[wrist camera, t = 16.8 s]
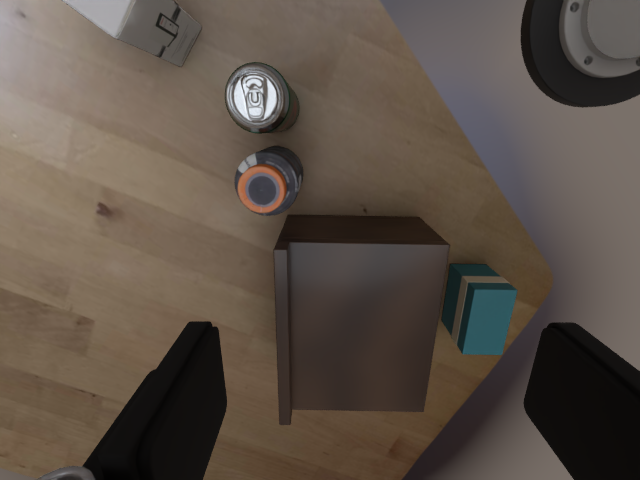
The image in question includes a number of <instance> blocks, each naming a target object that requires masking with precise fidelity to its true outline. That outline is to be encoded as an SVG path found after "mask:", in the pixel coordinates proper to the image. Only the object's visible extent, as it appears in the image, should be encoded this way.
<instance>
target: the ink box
mask: <svg viewBox="0 0 640 480" xmlns="http://www.w3.org/2000/svg"><path fill="white" fill-rule="evenodd" d="M62 1H63V2H65V3H66V4H67V5H69V6H70V7H72V8H73V9H74V10H76V11H77V12H78V13H80V14H81V15H83V16H84V17H85V18H87V19H88V20H89V21H91V22H92V23H94V24H95V25H97V26H98V27H99V28H101V29H102V30H104V31H105V32H106V33H108V34H109V35H111V36H112V37H114V38H116V39H118V40H121V41H123V42H126V43H128V44H130V45H133V46H135V47H137V48H140V49H142V50H144V51H146V52H149V53H151V54H153V55H155V56H157V57H160V58H162V59H164V60H166V61H168V62H170V63H173V64H175V65H177V66H179V67H181V66H182V65H183V63H184V61H185V59H186V57H187V55H188V53H189V51H190V49H191V48H192V46H193V44H194V42H195V40H196V38H197V36H198V34H199V32H200V30H201V28H202V27H201V25H200V24H199V23H198V22H197V21H196V20H194V19H193V18H192V17H191V16H190V15H189V14H188V13H187V12H185V11H184V10H183V9H182V8H181V7H180V6H179V5H178V4H177V3H175V2H174V1H173V0H62Z"/></svg>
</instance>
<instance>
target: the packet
mask: <svg viewBox="0 0 640 480" xmlns="http://www.w3.org/2000/svg"><path fill="white" fill-rule="evenodd" d="M516 294H517V290H516V289H515V288H514V287H513V286H512V285H510V284H509V282H508V281H507V280H506V279H504V278H503V277H501V276H500V275H498V274H497V273H496V272H495V271H494V270H492V269H491V268H490V267H489V266H487V265H486V264H450V270H449V276H448V282H447V289H446V295H445V301H444V307H443V314H442V322H443V324H444V325H445V327H446V328H447V330H448V332H449V333H450V335H451V338H452V339H453V341H454V343H455V344H456V345H457V346H458V348H459V349H460V351H461V353H462V354H483V355H502V352H503V348H504V344H505V340H506V336H507V331H508V327H509V323H510V319H511V315H512V311H513V307H514V302H515V298H516Z"/></svg>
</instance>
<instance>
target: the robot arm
mask: <svg viewBox="0 0 640 480" xmlns="http://www.w3.org/2000/svg"><path fill="white" fill-rule="evenodd" d="M559 37H560V42H561V46H562V49H563V52H564V54H565V56H566V57H567V59H568V61H569V62H570V63H571V64H572V65H573V66H574V68H576V69H577V70H579V71H580V72H582V73H583V74H586V75H589V76H591V77H597V78H611V77H618V76H622V75H627V74H629V73H632V72H635V71H637V70H639V69H640V0H563V4H562V8H561V12H560V19H559ZM226 407H227V396H226V388H225V380H224V372H223V363H222V355H221V347H220V339H219V331H218V328H217V327H212V324H211V322H189V323H188V324H187V325H186V327H185V328H184V330H183V331H182V333H181V334H180V335H179V337H178V338H177V340H176V341H175V343H174V344H173V346H172V347H171V348H170V350H169V351H168V353H167V354H166V356H165V357H164V359H163V360H162V361H161V363H160V364H159V366H158V367H157V369H155V370H153V371H151V372H150V373H149V374H148V375H147V376H146V378H145V379H144V380H143V382H142V383H141V385H140V386H139V387H138V389H137V390H136V392H135V393H134V394H133V396H132V397H131V399H130V400H129V401H128V403H127V404H126V406H125V407H124V409H123V410H122V411H121V413H120V414H119V416H118V417H117V418H116V420H115V421H114V423H113V424H112V425H111V427H110V428H109V430H108V431H107V432H106V434H105V435H104V437H103V438H102V439H101V441H100V442H99V444H98V445H97V446H96V448H95V449H94V451H93V452H92V453H91V455H90V456H89V458H88V459H87V460H86V462H85V463H84V465H83V466H82V467H80V466H69V467H64V468H59V469H57V470H54V471H52V472H50V473H47V474H45V475H43V476H41V477H40V478H38V479H36V480H203V477H204V474H205V471H206V468H207V465H208V462H209V460H210V457H211V454H212V451H213V448H214V445H215V442H216V439H217V436H218V433H219V430H220V427H221V424H222V421H223V418H224V416H225V412H226ZM524 408H525V411H526V413H527V415H528V416H529V418H530V419H531V421H532V422H533V423H534V425H535V426H536V428H537V429H538V430H539V432H540V433H541V434H542V436H543V437H544V439H545V440H546V441H547V442H548V444H549V445H550V447H551V448H552V450H553V451H554V453H555V454H556V455H557V457H558V458H559V460H560V461H561V462H562V463H563V465H564V466H565V468H566V469H567V471H568V472H569V473H570V475H571V476H572V478H573V479H574V480H640V371H638V370H637V369H636V368H634V367H633V366H632V365H631V364H629V363H628V362H627V361H625V360H624V359H623V358H621V357H620V356H619V355H617V354H616V353H615V352H613V351H612V350H611V349H610V348H608V347H607V346H605V345H604V344H603V343H602V342H600V341H599V340H598V339H596V338H595V337H594V336H592V335H591V334H590V333H588V332H587V331H586V330H585V329H583V328H582V327H581V326H579V325H578V324H576V323H550V324H549V325H548V326H547V328H544V329H543V331H542V333H541V337H540V341H539V345H538V348H537V352H536V356H535V360H534V364H533V368H532V371H531V375H530V379H529V383H528V386H527V390H526V394H525V398H524Z"/></svg>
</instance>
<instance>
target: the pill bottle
mask: <svg viewBox="0 0 640 480" xmlns="http://www.w3.org/2000/svg"><path fill="white" fill-rule="evenodd" d="M302 180H303V167H302V164H301V162H300V160H299V158H298V157H297V156H296V155H295V154H294V153H293V152H292V151H291V150H289V149H286V148H284V147H280V146H273V147H269V148H266V149H264V150H261V151H259V152H256V153H254V154H252V155H250V156H248V157H247V158H246V159H245V160H244V161H243V162H242V163H241V164H240V166H239V167H238V169H237V171H236V175H235V189H236V192H237V195H238V197H239V199H240V201H241V202H242V203H243V204H244V205H245V206H246V207H247V208H248V209H249V210H251V211H252V212H254V213H257V214H260V215H265V216H271V215H277V214H280V213H282V212H284V211H285V210H287V209H288V208H289V207H290V206H291V205H292V204H293V202H294V201H295V199H296V197H297V194H298V191H299V189H300V186H301V183H302Z"/></svg>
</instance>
